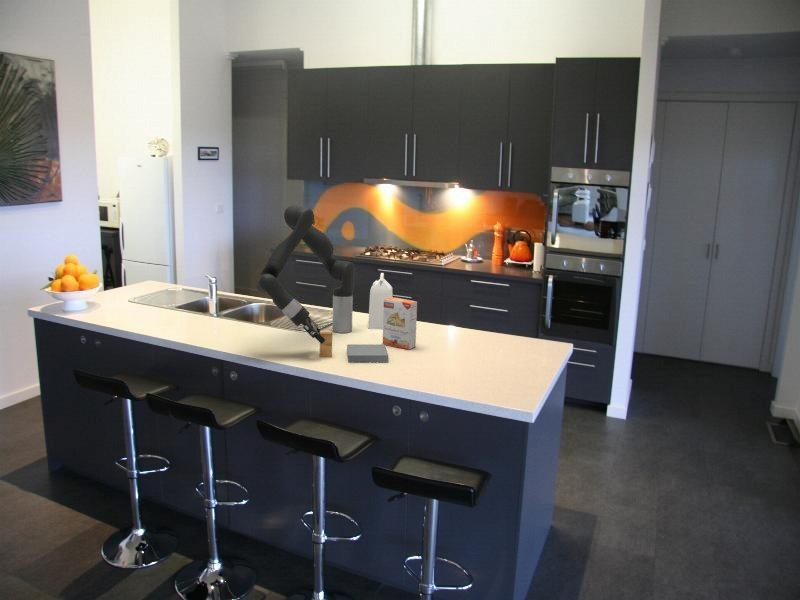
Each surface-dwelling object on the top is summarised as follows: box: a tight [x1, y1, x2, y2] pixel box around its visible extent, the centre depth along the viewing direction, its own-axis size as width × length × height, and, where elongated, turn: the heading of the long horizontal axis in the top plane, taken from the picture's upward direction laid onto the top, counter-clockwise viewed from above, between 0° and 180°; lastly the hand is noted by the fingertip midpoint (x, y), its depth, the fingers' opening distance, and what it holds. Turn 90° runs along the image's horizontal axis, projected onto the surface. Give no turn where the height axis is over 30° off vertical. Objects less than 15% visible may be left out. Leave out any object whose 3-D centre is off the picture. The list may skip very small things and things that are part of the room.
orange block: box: [319, 330, 333, 358], centre depth 277 cm, size 5×5×10 cm
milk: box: [367, 272, 393, 331], centre depth 326 cm, size 12×12×26 cm
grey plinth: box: [346, 343, 389, 364], centre depth 277 cm, size 16×16×3 cm
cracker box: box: [382, 297, 418, 351], centre depth 293 cm, size 14×6×21 cm, turn 57°
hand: (323, 339), depth 276 cm, fingers open, 8 cm apart
